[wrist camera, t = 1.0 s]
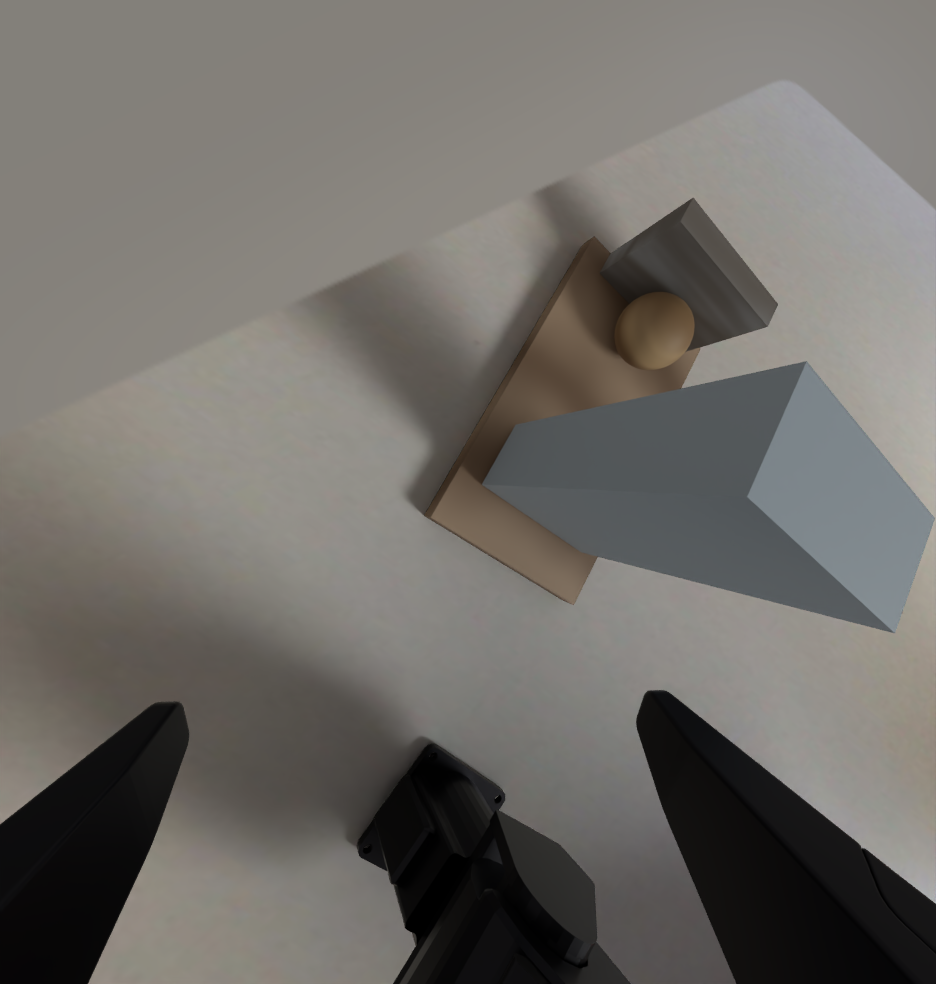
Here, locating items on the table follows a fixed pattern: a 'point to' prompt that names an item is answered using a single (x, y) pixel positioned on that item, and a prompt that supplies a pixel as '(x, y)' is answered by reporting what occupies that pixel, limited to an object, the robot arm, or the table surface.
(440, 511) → the press bed
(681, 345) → the walnut
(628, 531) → the block
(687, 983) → the table surface
